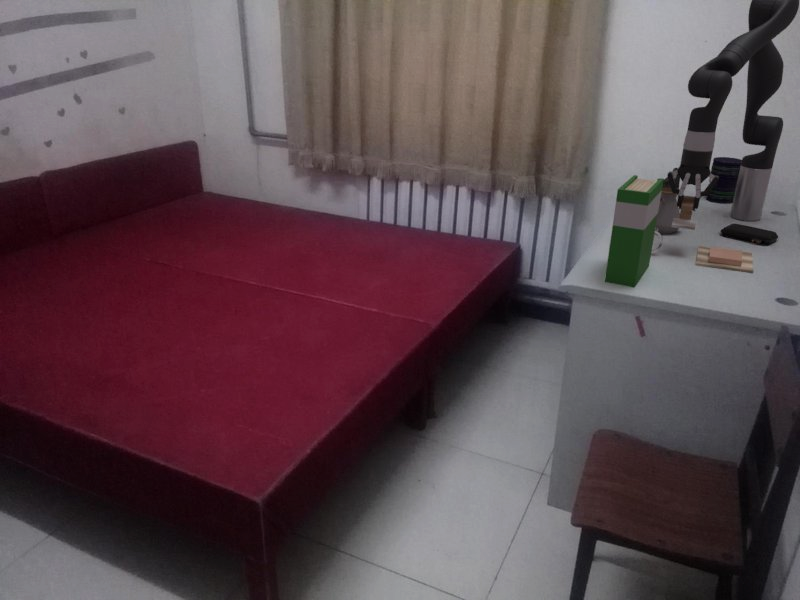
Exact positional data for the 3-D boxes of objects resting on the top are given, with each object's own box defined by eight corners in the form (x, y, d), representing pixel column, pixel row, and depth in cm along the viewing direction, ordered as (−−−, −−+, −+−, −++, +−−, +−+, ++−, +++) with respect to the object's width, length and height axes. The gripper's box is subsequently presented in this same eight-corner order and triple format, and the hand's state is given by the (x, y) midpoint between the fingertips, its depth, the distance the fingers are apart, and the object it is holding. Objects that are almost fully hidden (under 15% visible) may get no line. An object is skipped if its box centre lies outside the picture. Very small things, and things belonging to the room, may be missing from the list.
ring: (660, 254, 186) (665, 227, 183) (659, 257, 183) (663, 230, 180) (635, 250, 189) (639, 223, 186) (633, 253, 187) (637, 226, 183)
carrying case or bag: (715, 237, 201) (766, 248, 192) (717, 228, 200) (768, 239, 191) (729, 230, 208) (778, 241, 199) (731, 221, 207) (781, 231, 197)
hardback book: (621, 261, 180) (634, 175, 171) (648, 266, 177) (663, 178, 167) (604, 281, 166) (617, 189, 157) (634, 287, 163) (649, 193, 153)
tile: (710, 246, 185) (709, 256, 178) (741, 250, 182) (742, 260, 175) (709, 252, 186) (708, 262, 178) (740, 256, 183) (740, 266, 175)
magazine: (674, 169, 247) (659, 158, 221) (683, 170, 246) (669, 159, 220) (663, 215, 250) (647, 209, 224) (672, 216, 249) (657, 211, 222)
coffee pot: (648, 222, 214) (656, 177, 208) (685, 229, 208) (693, 182, 202) (626, 238, 199) (634, 190, 193) (665, 246, 192) (674, 196, 186)
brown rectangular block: (675, 210, 189) (678, 194, 186) (697, 212, 187) (700, 197, 184) (671, 227, 182) (674, 211, 179) (694, 230, 180) (697, 214, 177)
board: (698, 247, 191) (698, 245, 191) (751, 254, 186) (751, 252, 186) (695, 265, 178) (696, 262, 178) (753, 273, 173) (753, 270, 172)
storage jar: (700, 200, 241) (708, 159, 235) (712, 195, 247) (720, 155, 241) (727, 205, 235) (736, 163, 229) (739, 200, 241) (748, 160, 235)
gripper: (726, 147, 179) (714, 209, 185) (671, 143, 184) (661, 203, 191) (726, 152, 172) (713, 215, 179) (669, 147, 178) (659, 209, 185)
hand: (686, 208), depth 185 cm, fingers closed on brown rectangular block, 3 cm apart
